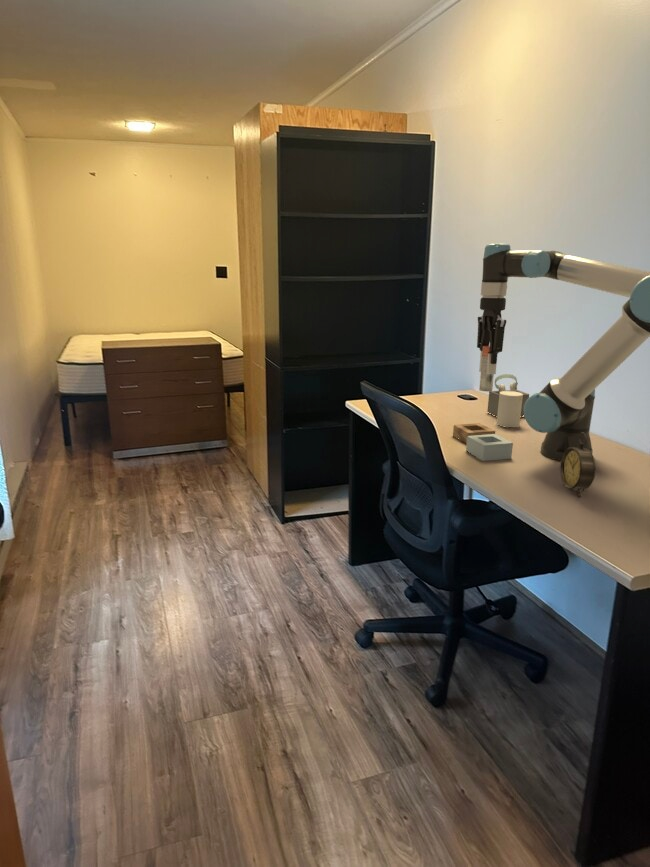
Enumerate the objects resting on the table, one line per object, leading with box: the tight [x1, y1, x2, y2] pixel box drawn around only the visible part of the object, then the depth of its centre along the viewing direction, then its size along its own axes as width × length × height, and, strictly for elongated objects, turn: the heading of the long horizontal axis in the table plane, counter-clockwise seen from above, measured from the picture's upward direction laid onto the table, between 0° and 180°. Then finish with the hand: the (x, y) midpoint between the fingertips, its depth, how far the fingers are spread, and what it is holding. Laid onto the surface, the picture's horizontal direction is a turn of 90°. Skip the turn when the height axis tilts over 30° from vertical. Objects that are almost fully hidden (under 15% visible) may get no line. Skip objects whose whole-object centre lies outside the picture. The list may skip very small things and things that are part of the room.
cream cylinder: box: [496, 391, 523, 428], centre depth 217 cm, size 8×8×12 cm
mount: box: [452, 422, 496, 445], centre depth 200 cm, size 10×10×4 cm
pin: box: [479, 344, 495, 393], centre depth 186 cm, size 4×4×14 cm
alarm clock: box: [559, 432, 597, 498], centre depth 154 cm, size 11×5×16 cm, turn 3°
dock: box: [465, 433, 514, 462], centre depth 184 cm, size 10×10×5 cm
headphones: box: [494, 373, 519, 392], centre depth 228 cm, size 8×4×20 cm
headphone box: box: [487, 389, 530, 416], centre depth 232 cm, size 8×12×9 cm
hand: (487, 372), depth 187 cm, fingers closed on pin, 4 cm apart
